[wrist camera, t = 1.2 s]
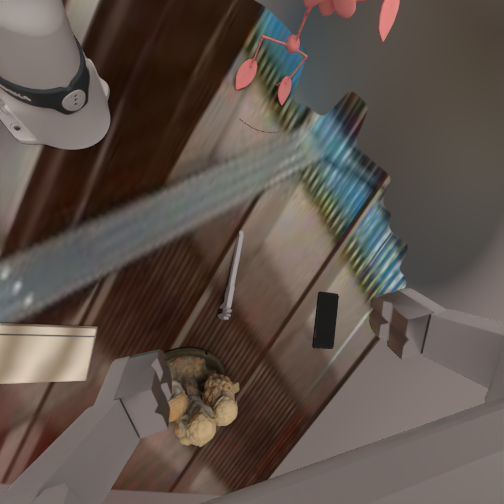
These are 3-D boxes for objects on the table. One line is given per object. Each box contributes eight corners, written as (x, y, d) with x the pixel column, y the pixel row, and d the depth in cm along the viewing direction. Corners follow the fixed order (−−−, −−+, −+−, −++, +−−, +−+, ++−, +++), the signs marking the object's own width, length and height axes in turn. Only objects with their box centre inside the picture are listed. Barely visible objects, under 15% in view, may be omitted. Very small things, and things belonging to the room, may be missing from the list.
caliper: (221, 317, 54) (229, 323, 48) (216, 316, 53) (224, 322, 47) (242, 231, 57) (253, 228, 51) (238, 230, 56) (248, 226, 50)
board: (-108, 383, 34) (-120, 388, 33) (-90, 319, 35) (-101, 321, 34) (87, 376, 43) (85, 380, 42) (97, 326, 44) (96, 328, 43)
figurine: (211, 51, 55) (296, -237, 23) (303, 93, 65) (451, -66, 33) (203, 114, 54) (280, -97, 22) (298, 147, 64) (446, 36, 32)
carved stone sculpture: (231, 346, 54) (265, 381, 38) (224, 400, 53) (255, 459, 37) (147, 346, 47) (145, 388, 32) (136, 408, 46) (129, 484, 30)
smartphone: (312, 348, 62) (319, 291, 64) (310, 347, 63) (317, 291, 65) (333, 349, 65) (339, 294, 66) (331, 348, 65) (337, 293, 67)
